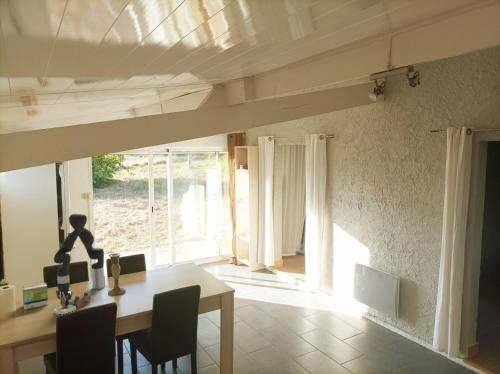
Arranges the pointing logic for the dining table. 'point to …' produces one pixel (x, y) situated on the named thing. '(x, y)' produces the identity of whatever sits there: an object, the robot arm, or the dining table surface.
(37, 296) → the tea box
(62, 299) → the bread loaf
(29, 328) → the dining table surface
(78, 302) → the block
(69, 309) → the tray
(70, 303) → the grey rectangular block
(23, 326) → the dining table surface
